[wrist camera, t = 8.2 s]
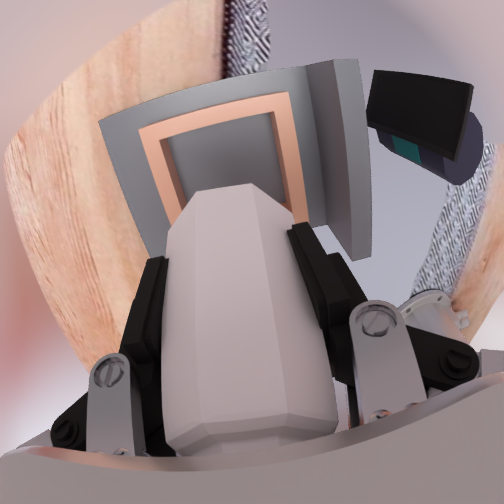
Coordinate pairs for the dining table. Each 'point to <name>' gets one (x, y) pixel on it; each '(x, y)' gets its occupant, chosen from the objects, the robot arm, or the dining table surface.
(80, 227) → the dining table surface
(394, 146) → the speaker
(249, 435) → the salt shaker
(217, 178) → the gray walled base stand
